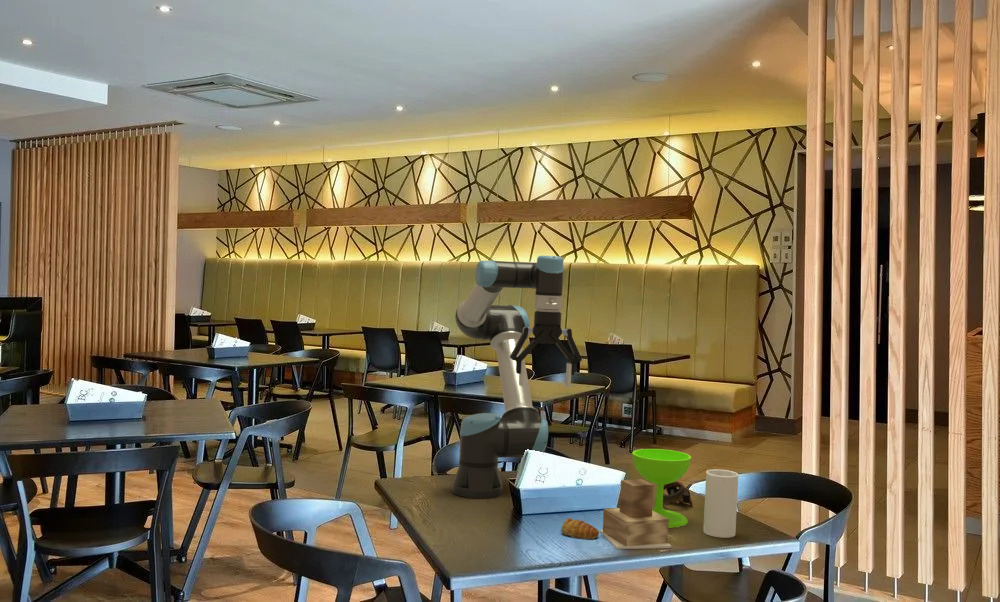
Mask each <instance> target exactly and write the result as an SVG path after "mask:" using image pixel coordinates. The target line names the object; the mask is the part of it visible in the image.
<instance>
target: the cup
mask: <svg viewBox="0 0 1000 602" xmlns="http://www.w3.org/2000/svg"><path fill="white" fill-rule="evenodd" d="M705 473H706V474H705V490H704V508H703V509H704V510H703V529H702V530H703V531H702V532H703V533H704V534H705V535H707V536H710V537H713V538H714V537H715V538H722V539H724V538H726V539H729V538H734V537H735V536H736V533H737V532H736V530H737V527H736V526H737V513H738V511H737V510H738V509H737V507H738V492H739V491H738V487H739V473H737V472H735V471H732V470H727V469H717V468H715V469H707V470H706V472H705Z"/></svg>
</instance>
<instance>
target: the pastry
mask: <svg viewBox="0 0 1000 602" xmlns="http://www.w3.org/2000/svg"><path fill="white" fill-rule="evenodd" d="M560 531H561V533H562V534H563V535H564V536H570V537H571V538H574V537H575V539H577V538H578V539H581V538H582V540H595V539H596V538H598V537H599V534H600V530H599V529H598V528H596V527H595V526H594V525H591V524H590V523H587V522H585V521H584V520H579V519H572V518H566V519H565V520H564V522H563V523H562V526H561V529H560Z"/></svg>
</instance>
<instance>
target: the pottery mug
mask: <svg viewBox="0 0 1000 602" xmlns="http://www.w3.org/2000/svg"><path fill="white" fill-rule="evenodd" d="M665 490H666V493H667V494H665V493H663V505H671V504H675V503H679V502H680V503H679V504H684V503H685V504H689V505H690V507H691V508H693V507H694V506H693V499H692V497H691V493H690V490H689V489H688V487H687V486H685V485H684V484H683V483H682V482H681V481H679V480H677V481H675V482H673V483H669V484H664V489H663V492H664V491H665Z"/></svg>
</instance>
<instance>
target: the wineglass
mask: <svg viewBox="0 0 1000 602" xmlns="http://www.w3.org/2000/svg"><path fill="white" fill-rule="evenodd" d="M631 453H632V462H633V465H634V467H635V469H636V470H637V472H638V473H639V475H640V476H641V477H642V478H644V479H645V481H647V482H649V483H652V484H655V485H656V490H655V491H656V492H655V494H656V495H655V505H654V507H653V511H654V512H656V513H658V514H660V515H662V516H664V517H666V518H668V519H669V527H668V529H674V528H673V527H677V528H681V527H680V526H683V527H685V526H687V525H688V524H687V523H689V521H688V518H687V517H686V516H684V515H683V514H682V513H680V512H677V511H673V510H668V509H664V504H663V494H664V491H663V489H664V484H669V483H673V482H675V481H679V480H680V479H681V478H682V477H684V475H685V474H686V473H687V472H688V470H689V468H690V465H691V460H692V456H691V455H690V454H688V453H686V452H682V451H678V450H672V449H663V448H662V449H661V448H641V449H635V450H633V451H632V452H631ZM686 524H687V525H686ZM684 525H685V526H684Z"/></svg>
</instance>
